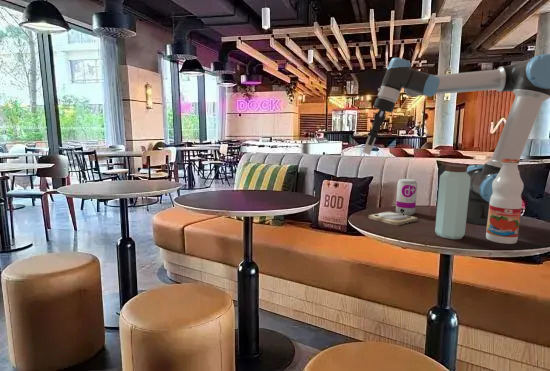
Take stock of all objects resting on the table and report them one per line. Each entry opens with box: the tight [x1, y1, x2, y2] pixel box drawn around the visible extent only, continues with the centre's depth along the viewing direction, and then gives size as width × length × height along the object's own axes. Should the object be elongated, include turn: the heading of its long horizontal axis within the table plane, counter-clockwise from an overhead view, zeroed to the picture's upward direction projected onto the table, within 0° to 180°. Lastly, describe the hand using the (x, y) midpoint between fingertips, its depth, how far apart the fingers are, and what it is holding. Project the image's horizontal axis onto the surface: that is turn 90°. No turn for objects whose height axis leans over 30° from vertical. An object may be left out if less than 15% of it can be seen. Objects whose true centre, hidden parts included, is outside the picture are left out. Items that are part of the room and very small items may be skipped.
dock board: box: [367, 210, 418, 226], centre depth 157 cm, size 14×14×2 cm
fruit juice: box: [485, 159, 525, 245], centre depth 129 cm, size 9×9×28 cm
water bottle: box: [434, 164, 471, 240], centre depth 133 cm, size 10×10×25 cm
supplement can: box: [395, 178, 418, 216], centre depth 168 cm, size 8×8×15 cm
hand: (366, 152), depth 149 cm, fingers open, 13 cm apart
